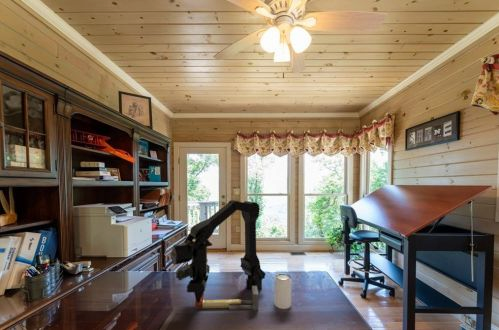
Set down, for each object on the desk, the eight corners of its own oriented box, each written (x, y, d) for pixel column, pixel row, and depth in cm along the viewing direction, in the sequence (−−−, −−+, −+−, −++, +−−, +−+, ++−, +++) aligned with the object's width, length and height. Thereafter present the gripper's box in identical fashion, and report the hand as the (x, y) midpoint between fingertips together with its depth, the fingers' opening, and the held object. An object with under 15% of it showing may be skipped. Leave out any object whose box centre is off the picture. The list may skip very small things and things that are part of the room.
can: (280, 313, 93) (280, 281, 93) (271, 305, 99) (271, 274, 99) (294, 309, 96) (294, 278, 96) (284, 301, 102) (284, 271, 102)
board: (263, 300, 102) (263, 283, 102) (267, 316, 91) (267, 296, 91) (197, 302, 101) (197, 284, 101) (192, 318, 90) (192, 298, 90)
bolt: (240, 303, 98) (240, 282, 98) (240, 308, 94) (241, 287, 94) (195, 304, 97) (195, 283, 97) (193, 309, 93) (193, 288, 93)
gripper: (183, 251, 104) (182, 288, 104) (172, 268, 86) (171, 314, 85) (209, 250, 105) (209, 287, 105) (204, 268, 86) (204, 313, 86)
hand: (199, 299), depth 95 cm, fingers closed on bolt, 4 cm apart
